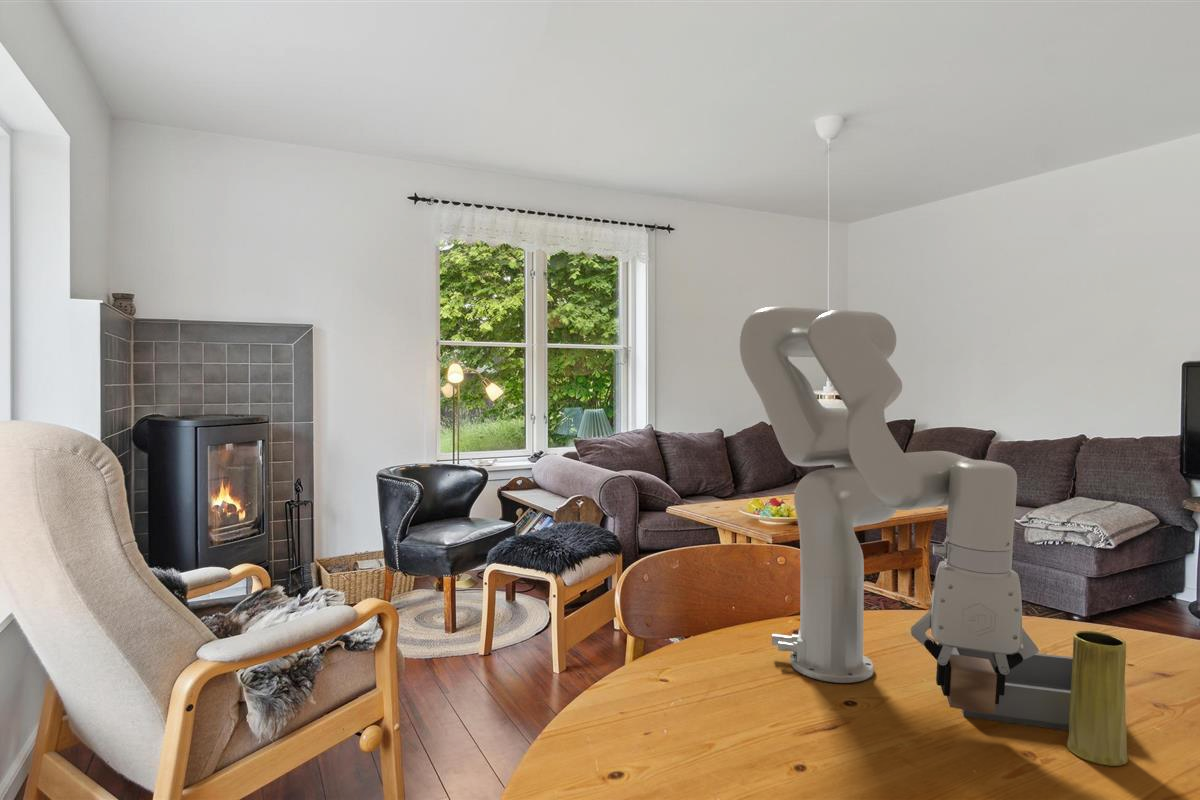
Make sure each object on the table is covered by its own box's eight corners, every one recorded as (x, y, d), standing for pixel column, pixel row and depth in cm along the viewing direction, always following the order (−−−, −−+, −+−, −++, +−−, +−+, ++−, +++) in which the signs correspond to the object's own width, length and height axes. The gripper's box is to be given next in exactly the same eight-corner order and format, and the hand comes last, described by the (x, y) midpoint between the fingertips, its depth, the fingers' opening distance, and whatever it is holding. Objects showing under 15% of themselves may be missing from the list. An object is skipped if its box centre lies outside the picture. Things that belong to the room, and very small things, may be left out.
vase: (1138, 769, 82) (1141, 649, 81) (1080, 764, 83) (1082, 645, 83) (1112, 743, 88) (1114, 630, 87) (1057, 738, 89) (1060, 627, 89)
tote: (963, 716, 95) (964, 680, 95) (948, 675, 108) (949, 643, 108) (1117, 737, 89) (1118, 698, 89) (1082, 692, 102) (1082, 658, 102)
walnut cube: (950, 707, 89) (952, 669, 89) (944, 689, 94) (946, 653, 93) (994, 714, 88) (996, 676, 87) (986, 695, 92) (988, 659, 92)
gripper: (908, 558, 88) (900, 696, 90) (1063, 574, 83) (1053, 722, 84) (902, 542, 96) (895, 671, 97) (1046, 557, 90) (1036, 693, 91)
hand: (969, 693), depth 91 cm, fingers closed on walnut cube, 4 cm apart
